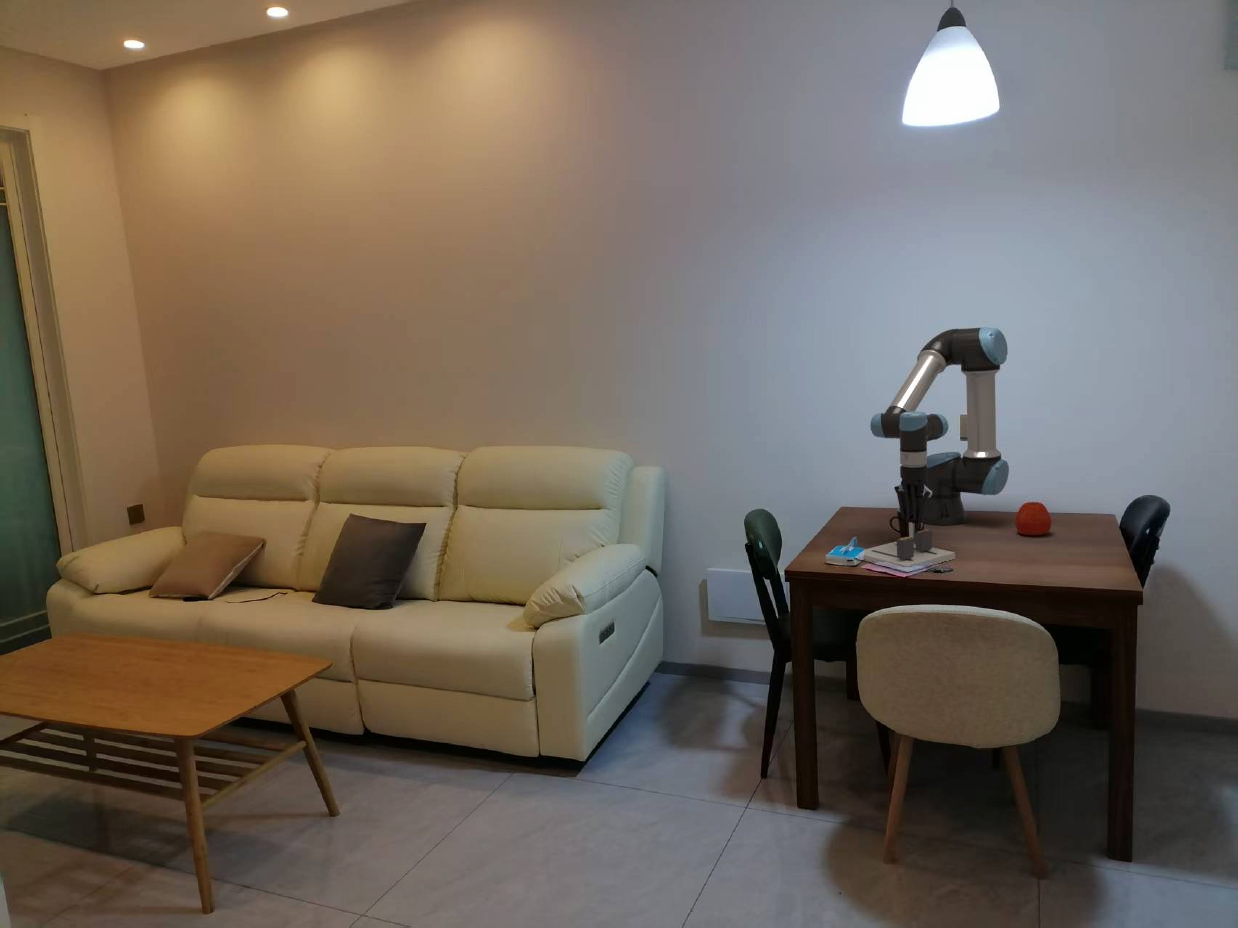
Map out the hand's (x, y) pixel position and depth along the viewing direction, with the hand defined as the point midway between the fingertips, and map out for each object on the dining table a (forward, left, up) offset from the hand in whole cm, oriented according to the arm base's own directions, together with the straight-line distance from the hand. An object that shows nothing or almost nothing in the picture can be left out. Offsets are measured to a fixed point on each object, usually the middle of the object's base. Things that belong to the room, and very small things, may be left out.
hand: (914, 543), depth 260 cm
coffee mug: (-11, -13, -4) cm, 17 cm away
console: (+5, 0, -4) cm, 6 cm away
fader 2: (0, +3, -1) cm, 4 cm away
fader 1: (+10, +5, -1) cm, 11 cm away
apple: (-44, +8, -4) cm, 45 cm away
